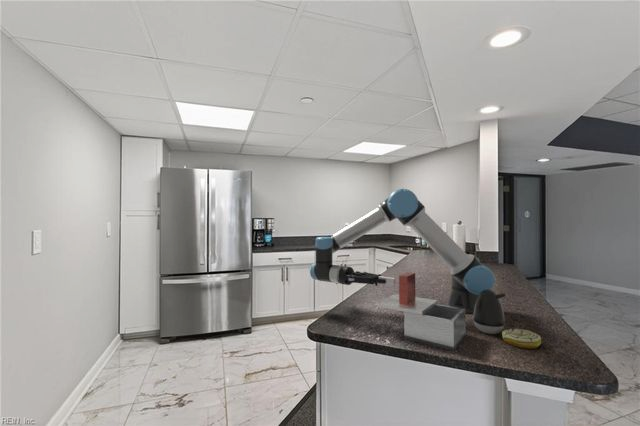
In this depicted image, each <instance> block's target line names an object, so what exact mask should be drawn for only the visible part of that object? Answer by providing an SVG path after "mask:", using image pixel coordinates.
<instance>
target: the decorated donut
mask: <svg viewBox="0 0 640 426" xmlns="http://www.w3.org/2000/svg"><path fill="white" fill-rule="evenodd" d="M501 335H502V339H503V341H504V343H507V344H508V345H511V346H514V347H518V348H521V349H530V350H533V349H534V350H536V349H537V348H539V346H541V344H542V337H541V336H540V335H539V334H537V333H535V332H534V331H531V330H526V329H522V328H508V329H505V330H502V331H501Z"/></svg>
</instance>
